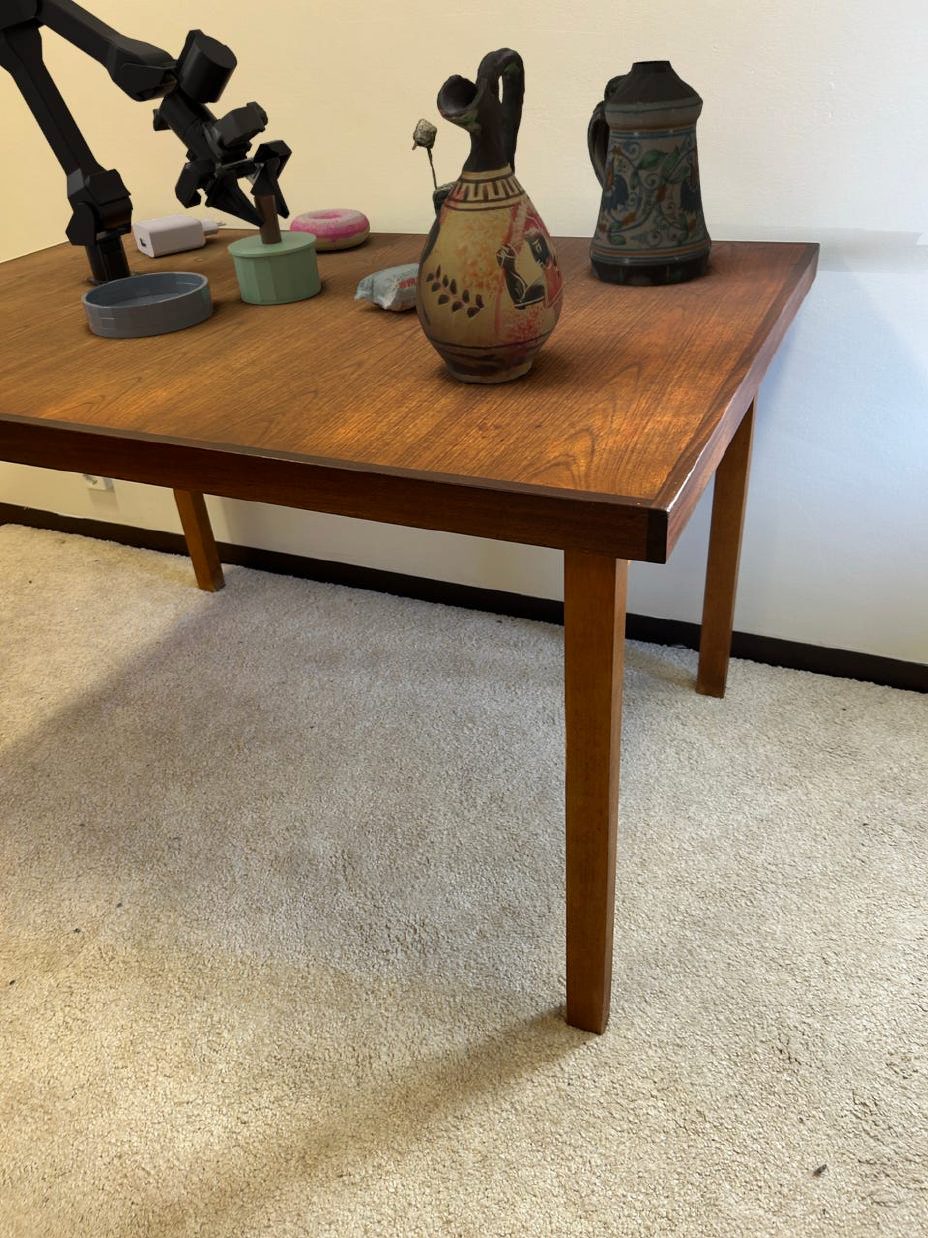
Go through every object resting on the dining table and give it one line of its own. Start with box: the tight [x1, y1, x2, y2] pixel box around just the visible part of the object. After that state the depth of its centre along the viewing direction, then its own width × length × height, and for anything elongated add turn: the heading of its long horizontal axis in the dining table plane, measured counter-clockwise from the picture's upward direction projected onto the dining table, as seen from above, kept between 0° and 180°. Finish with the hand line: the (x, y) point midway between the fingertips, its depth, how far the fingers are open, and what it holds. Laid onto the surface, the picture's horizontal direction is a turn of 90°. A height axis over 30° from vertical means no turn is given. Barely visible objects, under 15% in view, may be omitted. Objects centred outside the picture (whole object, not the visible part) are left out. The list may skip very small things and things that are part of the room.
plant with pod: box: [411, 118, 456, 218], centre depth 135 cm, size 8×11×20 cm
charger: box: [131, 213, 227, 258], centre depth 165 cm, size 5×9×15 cm
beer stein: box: [586, 59, 713, 287], centre depth 125 cm, size 16×19×25 cm
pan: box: [80, 271, 215, 339], centre depth 129 cm, size 17×17×4 cm
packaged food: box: [354, 262, 419, 312], centre depth 124 cm, size 9×12×5 cm
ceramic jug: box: [415, 47, 564, 384], centre depth 95 cm, size 17×15×30 cm
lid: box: [227, 194, 317, 257], centre depth 130 cm, size 12×12×7 cm
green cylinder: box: [232, 245, 322, 306], centre depth 134 cm, size 11×11×6 cm
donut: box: [288, 207, 371, 252], centre depth 157 cm, size 14×13×5 cm
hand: (275, 220), depth 130 cm, fingers open, 5 cm apart
